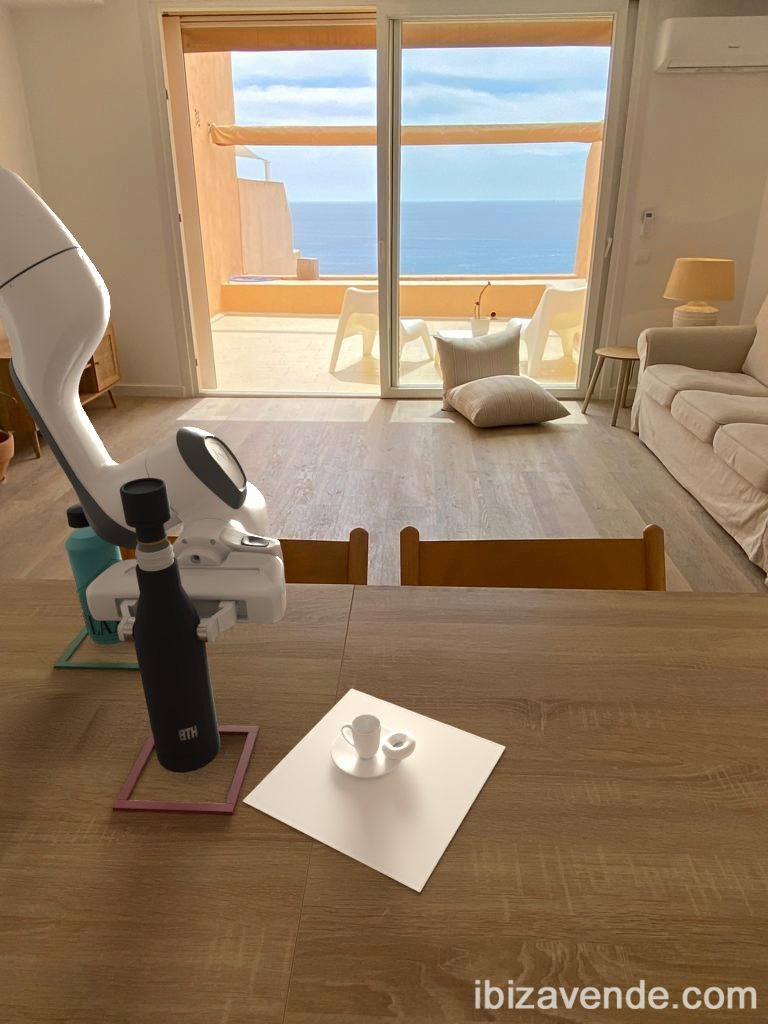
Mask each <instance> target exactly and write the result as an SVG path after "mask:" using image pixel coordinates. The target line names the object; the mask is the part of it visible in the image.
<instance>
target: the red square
mask: <svg viewBox="0 0 768 1024" xmlns="http://www.w3.org/2000/svg"><path fill="white" fill-rule="evenodd" d="M218 730H219V735H241V736H243V735H244V736H247V737H246V740H245V742H244V745H243V749H242V751H241V754H240V757H239V760H238V763H237V766H236V769H235V772H234V776H233V778H232V781H231V784H230V788H229V791H228V794H227V797H226V800H225V802H224V803H222V802H221V803H220V802H218V803H217V802H214V803H213V802H193V801H191V802H189V801H163V800H161V801H160V800H135V799H134V800H130V797H131V795H132V792H133V791H134V790H135V787H136V785H137V783H138V781H139V779H140V776H141V775H142V772H143V770H144V768H145V767H146V764H147V762H148V760H149V758H150V756H151V755H152V752H153V750H154V748H155V743H154V738H153V734H152V730H151V731H150V733H149V735H148V737H147V739H146V741H145V743H144V745H143V747H142V749H141V751H140V753H139V755H138V757H137V758H136V760H135V762H134V764H133V766H132V768H131V770H130V771H129V774H128V776H127V778H126V780H125V782H124V783H123V785H122V788H121V790H120V792H119V794H118V796H117V798H116V800H115V802H114V803H113V805H112V811H117V812H118V811H119V812H147V813H171V814H173V813H175V814H200V815H201V814H202V815H203V814H204V815H227V816H230V815H231V816H232V815H234V812H235V810H236V805H237V803H238V799H239V796H240V793H241V790H242V787H243V784H244V780H245V777H246V773H247V771H248V768H249V764H250V761H251V758H252V755H253V752H254V748H255V745H256V741H257V739H258V736H259V732H260V726H259V725H258V726H257V725H223V724H218Z"/></svg>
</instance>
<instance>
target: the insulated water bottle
mask: <svg viewBox="0 0 768 1024" xmlns="http://www.w3.org/2000/svg"><path fill="white" fill-rule="evenodd" d="M120 496H121V501H122V506H123V511H124V516H125V522H126V524H127V525H128V526H130V527H132V528H135V530H136V535H137V539H136V540H137V543H138V545H137V546H136V549H135V553H134V555H135V557H136V559H137V560H136V562H137V563H138V564H137V565H136V569H135V570H136V576H137V581H138V586H139V591H140V595H139V600H138V605H137V611H136V616H135V630H134V641H133V643H134V649H135V654H136V659H137V663H138V665H139V669H140V670H139V674H140V679H141V684H142V689H143V693H144V699H145V703H146V709H147V713H148V714H147V715H148V718H149V724H150V729H151V731H152V734H153V738H154V743H155V746H154V748H155V752H156V753H155V754H156V758H157V761H158V763H159V765H160V766H161V767H162V768H164V769H165V771H169V772H172V773H178V774H179V773H182V774H185V773H190V772H195V771H197V770H200V769H202V768H204V767H205V766H207V765H209V764H210V763H212V762H213V760H214V759H215V758H216V757H217V756H218V754H219V752H220V749H221V738H220V734H219V730H218V725H219V724H218V717H217V711H216V704H215V697H214V691H213V686H212V678H211V672H210V664H209V658H208V652H207V645H206V642H198V635H197V626H198V624H200V618H199V616H198V613H197V611H196V609H195V606H194V605H193V603H192V601H191V600H190V598H189V596H188V594H187V593H186V591H185V590H184V588H183V586H182V584H181V577H180V571H179V565H178V560H177V559H176V558H175V557H174V553H173V546H172V545H173V544H171V541H170V540H169V539H168V533H167V531H166V530H165V524H164V523H166V522H167V521H169V519H170V518H171V511H170V505H169V499H168V493H167V487H166V483H165V482H164V481H163V480H161V479H157V478H141V479H136V480H132V481H129V482H127V483H125V484H123V485H122V486H121V487H120Z"/></svg>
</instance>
